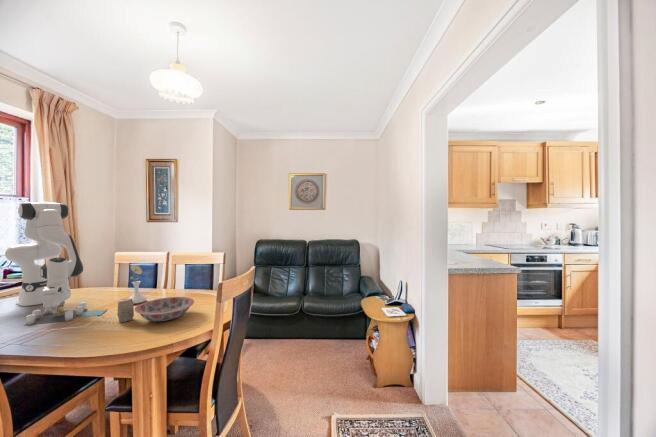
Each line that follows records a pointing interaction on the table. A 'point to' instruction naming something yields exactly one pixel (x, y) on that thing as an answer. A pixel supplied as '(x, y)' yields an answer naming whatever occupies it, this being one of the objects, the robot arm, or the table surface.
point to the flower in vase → (136, 286)
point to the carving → (125, 310)
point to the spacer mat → (50, 318)
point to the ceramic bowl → (164, 308)
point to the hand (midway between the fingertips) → (58, 310)
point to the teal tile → (93, 313)
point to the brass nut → (59, 309)
